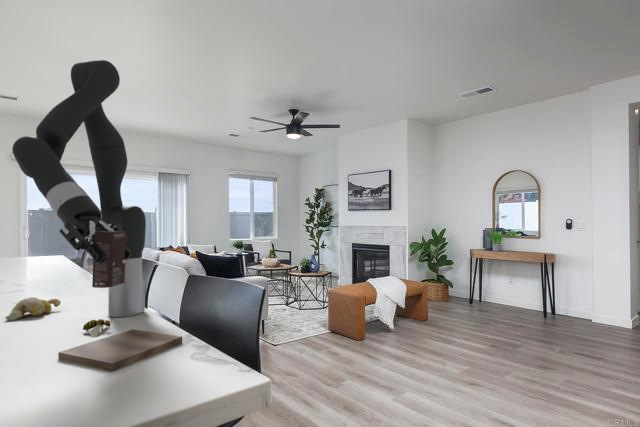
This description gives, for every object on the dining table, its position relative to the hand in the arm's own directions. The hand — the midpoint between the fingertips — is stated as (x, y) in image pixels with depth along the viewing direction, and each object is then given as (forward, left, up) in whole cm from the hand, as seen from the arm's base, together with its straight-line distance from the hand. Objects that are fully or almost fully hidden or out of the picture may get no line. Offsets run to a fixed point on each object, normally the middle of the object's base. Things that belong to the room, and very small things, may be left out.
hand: (116, 258), depth 83 cm
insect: (-9, -18, -21) cm, 28 cm away
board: (-1, +2, -20) cm, 20 cm away
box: (0, -2, -6) cm, 6 cm away
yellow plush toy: (-13, -53, -21) cm, 58 cm away
